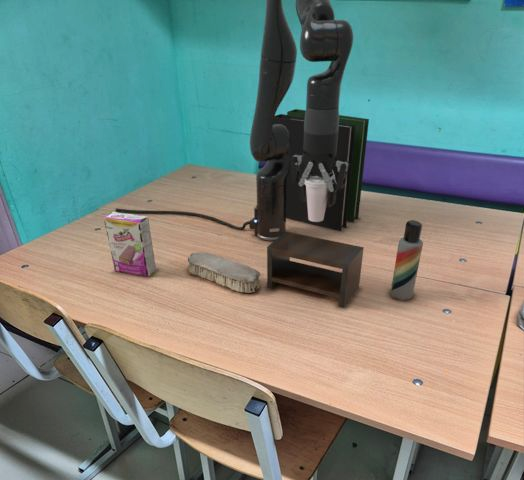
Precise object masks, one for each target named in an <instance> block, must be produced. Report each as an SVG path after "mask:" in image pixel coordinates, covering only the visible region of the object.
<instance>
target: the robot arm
mask: <svg viewBox="0 0 524 480" xmlns="http://www.w3.org/2000/svg"><path fill="white" fill-rule="evenodd" d="M295 12H296V15H297V18H298V22H299V23H300V28H301V32H300V39H299V50H300V53H301V56H302V57H303V58H304V60H306V61H307V62H310V63H318V62H319V63H321V62H330V63H329V66H328V67H327V69H326V70H325V71H323V72H320V73H317V74H314V75H311V76H309V77H308V78H307V79H308V80H307V83H306V96H305V97H306V98H305V99H306V100H305V101H306V102H305V106H306V107H305V110H306V112H305V119H304V145H303V150H304V153H303V155H302V156H299V155H298V154H296V155H294V156H292V157H291V158H290V152H291V141H290V135H289V132H288V130H287V128H286V127H285V126H284V125H281V124H275V125H273V121H274V117H275V116H276V113H277V111H278V108H279V107H280V105H281V104H282V101H283V100H284V98H285V97H286V95H287V93H288V92H289V89H290V88H291V85H292V83H293V80H294V78H295V72H296V64H297V57H298V48H297V44H296V41H295V38H294V35H293V33H292V30H291V28H290V26H289V23H288V20H287V17H286V14H285V11H284V7H283V0H265V16H264V25H263V32H262V33H263V35H262V42H261V51H260V59H259V60H260V61H259V73H258V85H257V93H256V99H255V100H256V101H255V107H254V114H253V118H252V124H251V129H250V135H249V149H250V154H251V156H252V158H253V159H254V160H255V161H257V162H259V163H264V162H265V165H264V166H263V167H261V168H260V169H259V170H258V171H257V172H256V174H255V175H256V176H255V180H256V182H255V183H256V187H255V188H256V205H255V206H254V208H253V211H254V212H253V214H254V215H253V216H254V217H253V218H251V219H250V220H248V221H245V222H244V223H243V224H242V226H235V225H234V224H231V223H229V222H226V221H224V220H221V219H219V218H216V217H214V216H212V215H211V216H210V215H207V214H203V213H198V212H191V211H181V210H179V211H177V210H143V209H142V210H141V209H140V210H139V209H138V210H137V209H125V208H117V207H116V208H115V212H119V213H129V214H161V215H162V214H167V215H184V216H185V215H186V216H194V217H198V218H199V217H200V218H204V219H208V220H211V221H214V222H216V223H219V224H221V225H223V226H227V227H229V228H231V229H233V230H238V231H243V230H245V228H246V227H247V226H248V225H249V230H254V236H255V237H257V238H259V239H260V240H262V241H268V242H274V241H275V240H276V239H277V238H279V237H280V236H281V235H282V234H284V233H285V232H286V231H287V218H286V185H287V176H288V173H289V165H290V163H291V176H292V182H293V183H297V184H298V185H299V187H300V188H299V198H300V199H301V202H305V201H307V194H306V185H305V184H304V183H305V179H308V178H309V177H310V176H318V177H322V178H324V181H325V183H328V184H327V186H328V189H329V191H328V199H327V206H328V207H331V206H332V205H333V204H334V203H335V201H336V191H337V190H341V189H342V188H343V187H344V186H345V183H346V178H347V173H348V168H349V162H348V161H346V162H341V161H338V159H337V157H336V152H337V141H338V128H339V115H340V98H341V97H340V95H341V87H342V82H343V78H344V74H345V70H346V68H347V64H348V61H349V58H350V55H351V53H352V48H353V45H354V31H353V28H352V26H351V24H350V22H349V21H348V20H344V19H335V18H336V17H335V11H334V8H333V6H332V4H331V0H295ZM301 161H302V162H303V164H304V166H305V168H306V169H305V171H304V173H303V175H302V177H301V174H300V164H301ZM335 166H337V168H338V169H337V170H338V172H339V176H338V181H337V183H336V180H335V174H334V172H333V169H334V167H335Z"/></svg>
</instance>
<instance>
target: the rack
mask: <svg viewBox="0 0 524 480" xmlns="http://www.w3.org/2000/svg"><path fill="white" fill-rule="evenodd" d="M364 250H365V249H364V246H360V245H354V244H350V243H344V242H340V241H335V240H331V239H330V240H329V239H325V238H321V237H316V236H310V235H307V234H301V233H296V232H290V231H287V230H286V232H285V233H284V234H282V235H281V236H280V237H279V238H277V239H276V240H275V241H271V243H270V244H268V245H267V246H266V287H267V289H270V290H272V289H274V288H275V287H276V286H277V285H278V284H281V285H285V286H289V287H294V288H297V289H301V290H304V291H309V292H313V293H318V294H321V295H325V296H328V297H331V298H332V297H333V298H337V299H339V300H338V303H339V304H338V307H339V308H343V309H344V308H346V307H347V305H348V303H349V302H350V301H351V299H352V298H353V297H354V296H355V294H356V293H357V292H358V291H359V289H360V284H361V283H360V281H361V273H362V265H363V257H364ZM291 259H296V260H300V261H304V262H309V263H312V264H318V265H321V266H322V265H323V266H326V267H331V268H336V269H340V270H341V271H337V270H333V269H329V268H324V267H319V266H316V265H312V264H307V263H302V262H298V261H294V260H291Z"/></svg>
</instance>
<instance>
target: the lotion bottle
mask: <svg viewBox="0 0 524 480" xmlns="http://www.w3.org/2000/svg"><path fill="white" fill-rule="evenodd" d="M422 229H423V224H422V223H421V222H420V221H417V220H415V219H411V220H408V221H406V223H405V227H404V231H403V232H404V233H403V237H401V238H399V241H398V243H397V244H398V245H397V251H396V256H395V263H394V267H393V268H394V269H393V273H392V274H393V275H392V281H391V288H390V295H391V297H393V298H394V299H395V300H400V301H406V300H410V299H411V298H413V295H414V291H415V286H416V281H417V275H418V270H419V265H420V261H421V256H422V250H423V245H424V241H423V240H422V239H421V234H422Z"/></svg>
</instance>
